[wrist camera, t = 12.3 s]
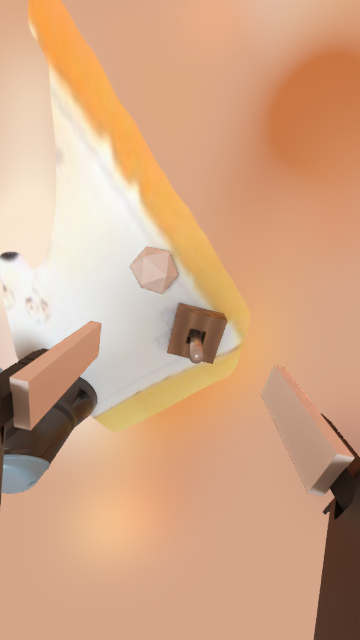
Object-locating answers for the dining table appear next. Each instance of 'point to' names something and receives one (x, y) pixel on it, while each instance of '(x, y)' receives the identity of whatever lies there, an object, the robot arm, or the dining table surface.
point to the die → (154, 269)
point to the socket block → (200, 320)
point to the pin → (195, 346)
